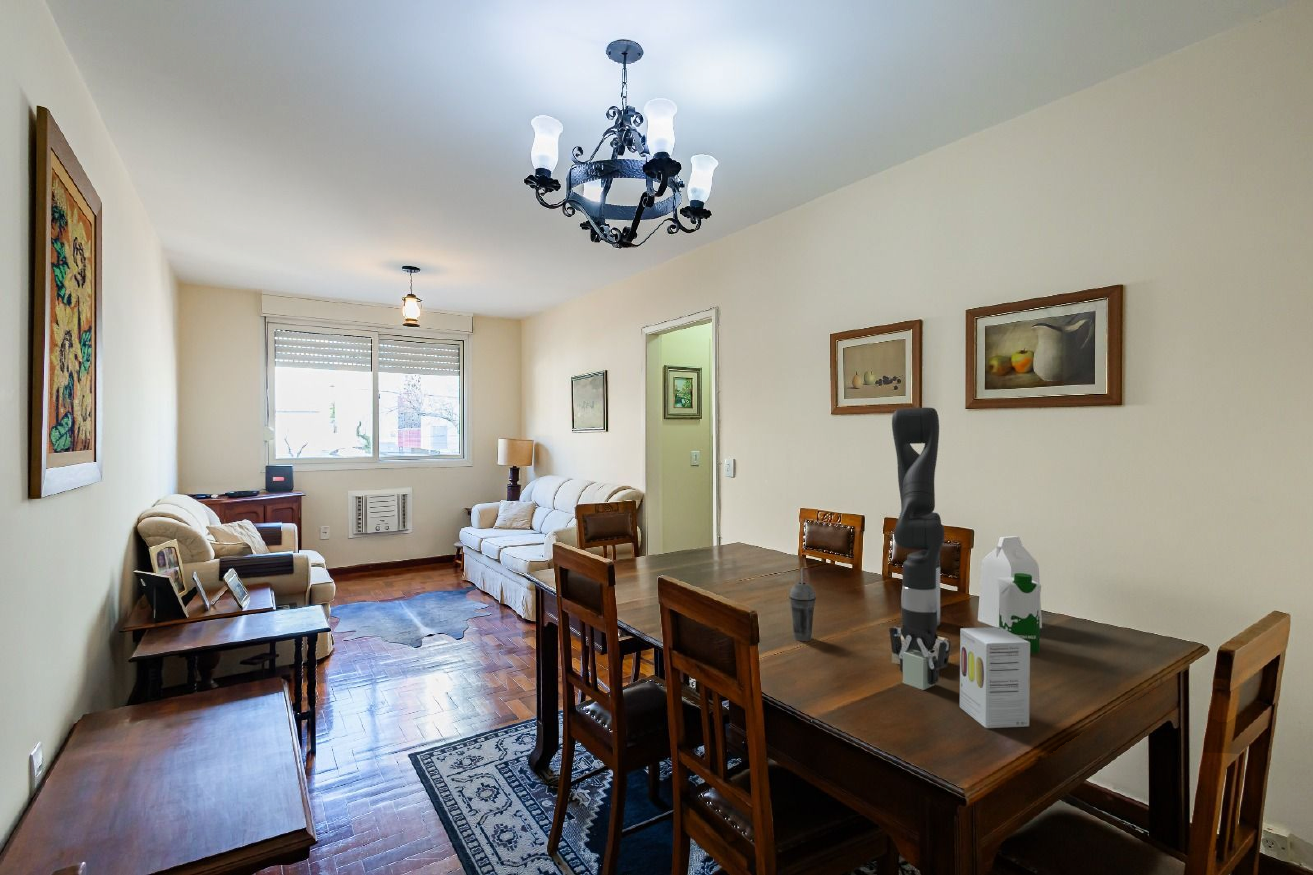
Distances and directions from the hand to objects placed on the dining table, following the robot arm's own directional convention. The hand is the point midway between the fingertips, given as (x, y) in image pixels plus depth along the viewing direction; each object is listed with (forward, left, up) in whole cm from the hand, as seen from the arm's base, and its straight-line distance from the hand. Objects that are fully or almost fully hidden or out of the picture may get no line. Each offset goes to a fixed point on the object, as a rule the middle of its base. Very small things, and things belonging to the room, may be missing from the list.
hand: (919, 678), depth 141 cm
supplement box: (+18, -3, -1) cm, 18 cm away
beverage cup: (-36, +2, -1) cm, 36 cm away
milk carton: (+3, +42, -1) cm, 42 cm away
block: (0, 0, -1) cm, 1 cm away
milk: (-8, +61, -1) cm, 62 cm away
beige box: (-7, +12, -1) cm, 14 cm away
